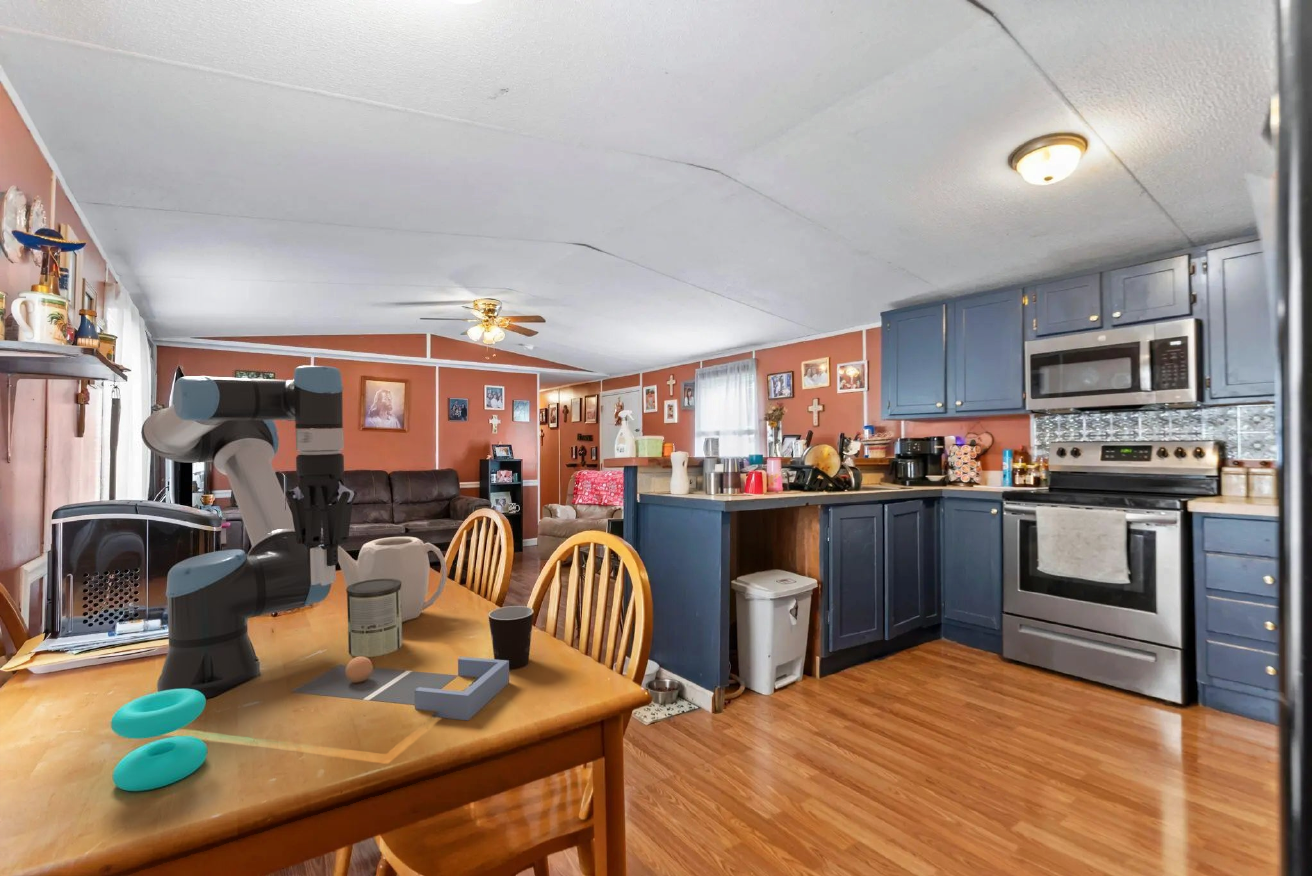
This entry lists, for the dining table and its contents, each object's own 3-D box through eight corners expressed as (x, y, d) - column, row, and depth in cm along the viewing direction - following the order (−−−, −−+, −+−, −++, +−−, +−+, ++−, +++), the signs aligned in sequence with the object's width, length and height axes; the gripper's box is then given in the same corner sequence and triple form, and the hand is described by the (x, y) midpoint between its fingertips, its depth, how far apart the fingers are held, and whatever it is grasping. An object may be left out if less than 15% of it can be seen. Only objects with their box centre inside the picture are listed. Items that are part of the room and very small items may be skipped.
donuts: (223, 687, 87) (156, 721, 77) (225, 756, 88) (158, 799, 78) (163, 682, 89) (89, 715, 79) (165, 750, 89) (92, 792, 79)
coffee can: (338, 654, 126) (337, 586, 125) (387, 640, 134) (386, 575, 133) (362, 666, 119) (360, 594, 119) (412, 651, 127) (411, 583, 127)
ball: (339, 685, 108) (339, 661, 108) (357, 675, 113) (356, 651, 112) (361, 687, 107) (361, 662, 107) (378, 677, 112) (377, 653, 111)
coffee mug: (523, 673, 115) (522, 620, 115) (481, 670, 117) (480, 618, 117) (546, 650, 127) (546, 602, 126) (507, 648, 128) (507, 600, 128)
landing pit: (414, 714, 99) (414, 690, 99) (461, 677, 113) (461, 656, 113) (468, 720, 97) (467, 695, 97) (509, 682, 111) (508, 660, 111)
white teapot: (340, 612, 154) (338, 537, 153) (451, 604, 159) (450, 532, 158) (319, 633, 138) (316, 549, 138) (443, 624, 144) (441, 544, 143)
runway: (290, 697, 106) (290, 691, 106) (340, 669, 118) (340, 664, 118) (419, 711, 101) (419, 705, 101) (458, 680, 112) (458, 675, 112)
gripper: (269, 453, 108) (272, 586, 109) (339, 454, 105) (343, 590, 106) (302, 451, 115) (305, 576, 116) (369, 451, 112) (372, 579, 113)
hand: (323, 582), depth 111 cm, fingers closed
